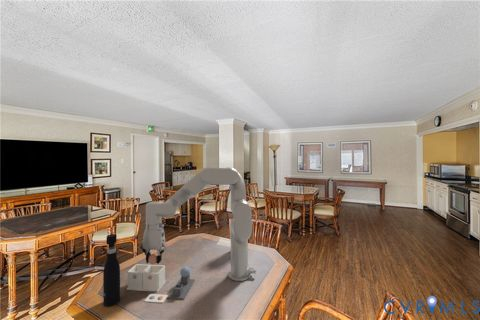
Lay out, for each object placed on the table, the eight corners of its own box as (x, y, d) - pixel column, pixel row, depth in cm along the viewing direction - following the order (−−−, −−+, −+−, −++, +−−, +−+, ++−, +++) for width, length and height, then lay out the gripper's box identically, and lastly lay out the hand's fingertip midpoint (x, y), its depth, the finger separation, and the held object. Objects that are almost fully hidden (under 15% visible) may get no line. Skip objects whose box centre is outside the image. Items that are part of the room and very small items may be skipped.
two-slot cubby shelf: (166, 281, 108) (166, 265, 108) (158, 291, 99) (157, 273, 99) (136, 279, 109) (136, 263, 109) (126, 289, 101) (126, 272, 101)
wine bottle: (123, 296, 96) (122, 232, 96) (115, 306, 89) (114, 237, 89) (109, 297, 95) (108, 233, 96) (100, 307, 89) (99, 238, 89)
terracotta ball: (160, 261, 106) (160, 251, 106) (155, 266, 101) (155, 256, 101) (151, 261, 107) (151, 251, 107) (146, 265, 102) (146, 255, 102)
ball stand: (194, 280, 108) (194, 273, 108) (183, 299, 93) (183, 291, 93) (180, 279, 109) (180, 272, 109) (167, 298, 94) (167, 290, 94)
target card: (168, 295, 96) (168, 294, 96) (163, 302, 91) (163, 301, 91) (150, 294, 97) (150, 293, 97) (144, 301, 92) (144, 300, 92)
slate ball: (191, 274, 108) (191, 264, 108) (188, 279, 103) (188, 269, 103) (182, 273, 108) (182, 264, 108) (178, 279, 103) (178, 269, 104)
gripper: (173, 224, 107) (173, 259, 107) (142, 223, 109) (142, 257, 109) (166, 229, 99) (166, 266, 99) (133, 228, 101) (133, 265, 101)
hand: (153, 261), depth 104 cm, fingers closed on terracotta ball, 4 cm apart
